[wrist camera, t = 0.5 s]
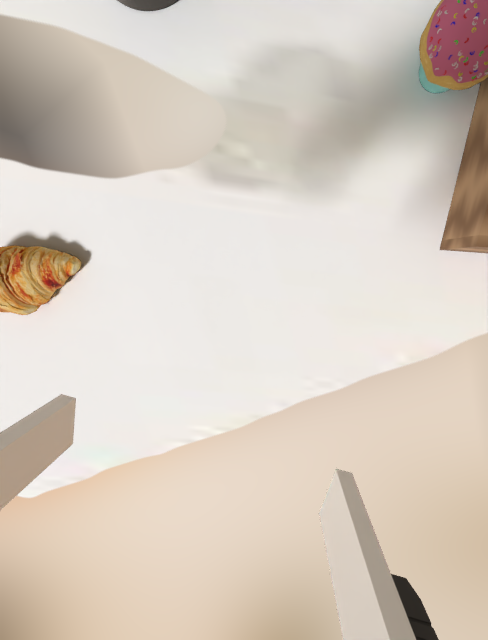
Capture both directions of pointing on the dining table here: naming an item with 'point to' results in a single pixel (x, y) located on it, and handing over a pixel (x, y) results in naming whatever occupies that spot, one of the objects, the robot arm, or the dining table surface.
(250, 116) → the dining table surface
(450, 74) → the cupcake
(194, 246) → the dining table surface
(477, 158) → the holder
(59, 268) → the croissant
